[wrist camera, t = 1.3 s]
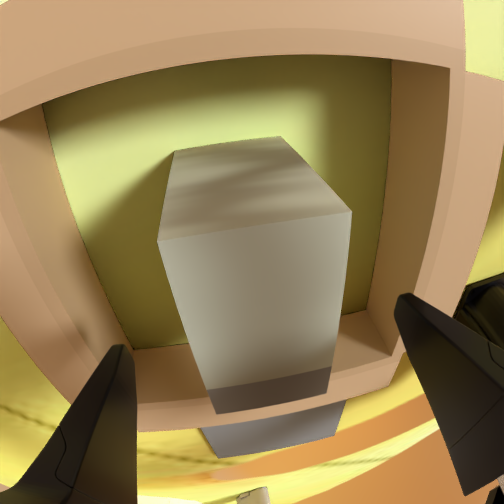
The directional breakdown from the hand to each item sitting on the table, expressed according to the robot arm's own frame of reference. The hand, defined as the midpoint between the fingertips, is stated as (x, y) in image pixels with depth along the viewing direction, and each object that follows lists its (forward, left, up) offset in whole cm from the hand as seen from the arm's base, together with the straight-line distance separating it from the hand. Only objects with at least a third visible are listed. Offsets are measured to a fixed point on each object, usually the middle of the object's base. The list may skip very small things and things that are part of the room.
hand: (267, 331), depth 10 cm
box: (0, 0, -6) cm, 7 cm away
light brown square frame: (0, 0, -6) cm, 6 cm away
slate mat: (-1, +21, -6) cm, 22 cm away
